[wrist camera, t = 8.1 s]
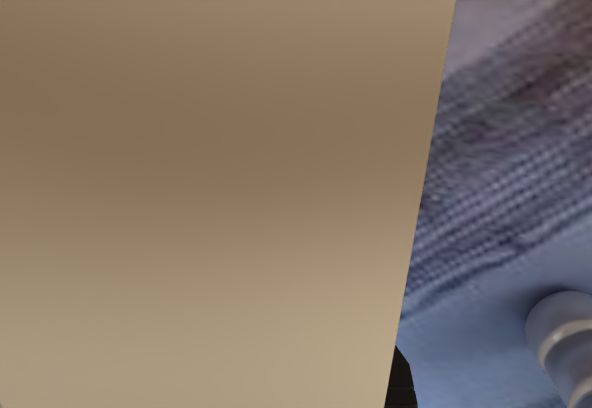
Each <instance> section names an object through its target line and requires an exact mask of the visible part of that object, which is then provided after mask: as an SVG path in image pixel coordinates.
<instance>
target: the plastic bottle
mask: <svg viewBox="0 0 592 408" xmlns="http://www.w3.org/2000/svg"><path fill="white" fill-rule="evenodd" d="M525 335H526V340H527V344H528V348H529V350H530V352H531V354H532V355H533V357H534V358H535V360H536V361H537V363H538V364H539V366H540V367H541V368H542V370H543V371H544V372H545V373H546V374H547V375H548V377H549V378H550V380H551V382H552V383H553V385H554V387H555V388H556V390H557V392H558V394H559V395H560V397H561V399H562V400H563V402H564V404H565V405H566V407H567V408H592V295H589V294H586V293H582V292H579V291H562V292H557V293H554V294H551V295H549V296H547V297H545V298H543V299H542V300H540V301H539V302H538V303H537V304H536V305H535V306H534V307H533V308H532V309H531V311H530V313H529V314H528V317H527V320H526V323H525Z"/></svg>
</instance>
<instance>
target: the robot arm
mask: <svg viewBox="0 0 592 408" xmlns="http://www.w3.org/2000/svg"><path fill="white" fill-rule="evenodd" d="M417 405H418V404H417V399H416V394H415V391H414V385H413V380H412V375H411V371H410V366H409V363H408V362H407V361H406V359H405V358H404V356H403V355H402V354H401V352H400V351H399V349H398V348H397V346H396V345H395V348H394V353H393V359H392V365H391V370H390V376H389V382H388V387H387V393H386V398H385V404H384V408H418V407H417Z"/></svg>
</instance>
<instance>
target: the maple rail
mask: <svg viewBox="0 0 592 408" xmlns="http://www.w3.org/2000/svg"><path fill="white" fill-rule="evenodd" d="M455 3H456V0H0V403H1V405H2V408H384V404H385V398H386V393H387V387H388V382H389V376H390V370H391V365H392V359H393V353H394V348H395V342H396V336H397V331H398V325H399V319H400V314H401V308H402V302H403V297H404V291H405V285H406V280H407V274H408V269H409V263H410V257H411V252H412V246H413V240H414V235H415V229H416V223H417V218H418V212H419V206H420V201H421V195H422V189H423V184H424V178H425V172H426V167H427V161H428V156H429V150H430V144H431V139H432V133H433V127H434V122H435V116H436V110H437V105H438V99H439V93H440V88H441V82H442V76H443V71H444V65H445V60H446V54H447V48H448V43H449V37H450V31H451V26H452V20H453V14H454V9H455Z"/></svg>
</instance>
